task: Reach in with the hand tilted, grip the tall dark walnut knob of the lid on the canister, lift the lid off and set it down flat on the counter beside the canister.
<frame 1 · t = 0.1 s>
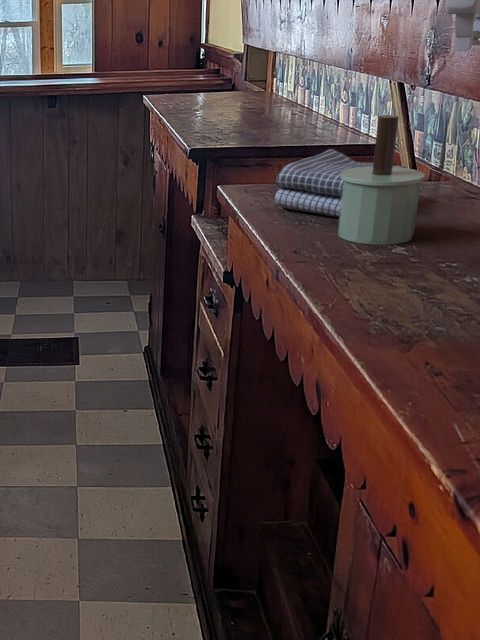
hand: (470, 47, 115), 26 cm above the worktop, tool pointing down, fingers open, 8 cm apart
lid: (381, 177, 124), point 8 cm above the worktop, touching canister
towel: (339, 207, 145), on the worktop
canister: (374, 235, 127), on the worktop
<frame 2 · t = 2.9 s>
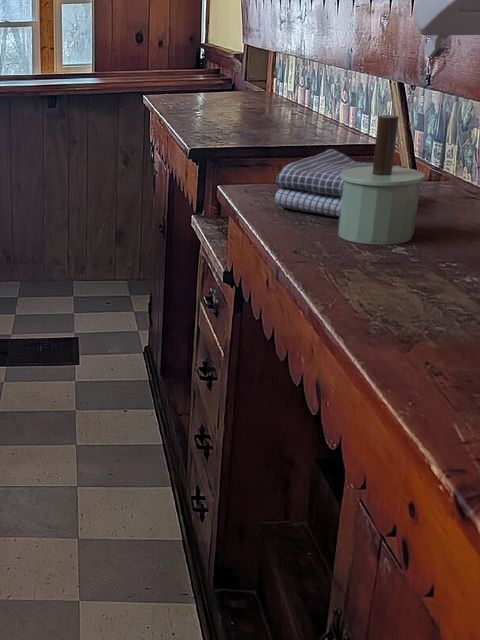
hand: (464, 52, 109), 26 cm above the worktop, tool tilted 45°, fingers open, 8 cm apart
nothing on the worktop moved.
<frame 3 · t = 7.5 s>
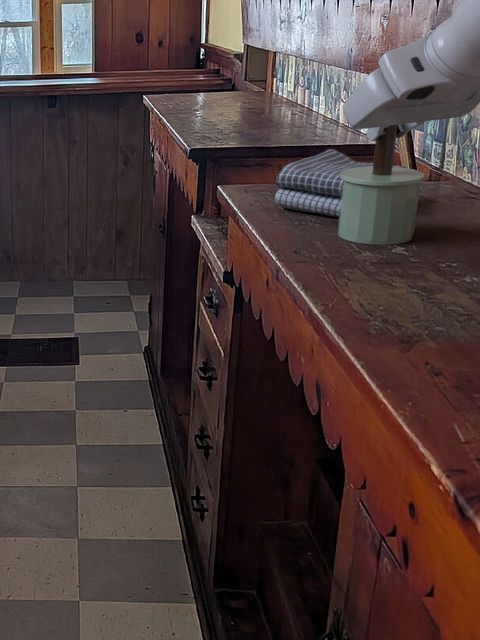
hand: (383, 135, 122), 14 cm above the worktop, tool tilted 45°, fingers closed on lid, 2 cm apart
lid: (381, 177, 124), point 9 cm above the worktop, touching canister, gripper
everything else where it was.
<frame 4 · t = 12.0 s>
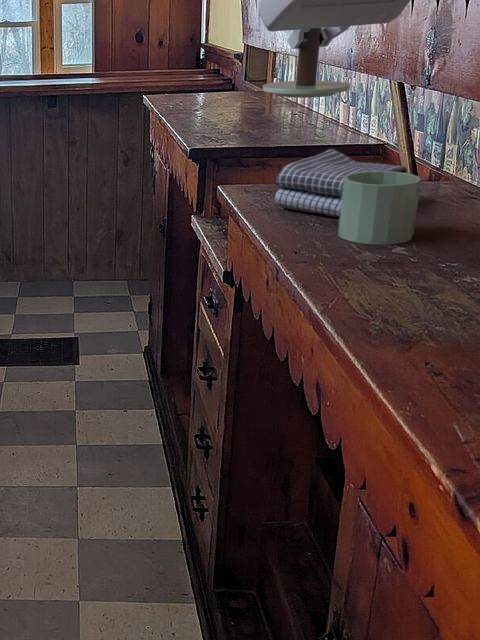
hand: (306, 44, 115), 27 cm above the worktop, tool tilted 45°, fingers closed on lid, 2 cm apart
lid: (305, 89, 117), point 22 cm above the worktop, touching gripper
everything else where it was.
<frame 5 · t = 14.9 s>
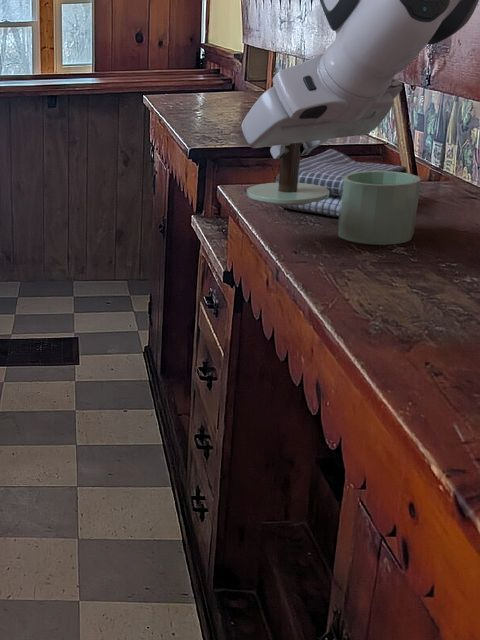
hand: (287, 153, 121), 13 cm above the worktop, tool tilted 45°, fingers closed on lid, 2 cm apart
lid: (287, 194, 122), point 7 cm above the worktop, touching gripper
everything else where it was.
when the fingers open (6 cm above the worktop, at t = 16.7 s): lid stays where it is, point 1 cm above the worktop.
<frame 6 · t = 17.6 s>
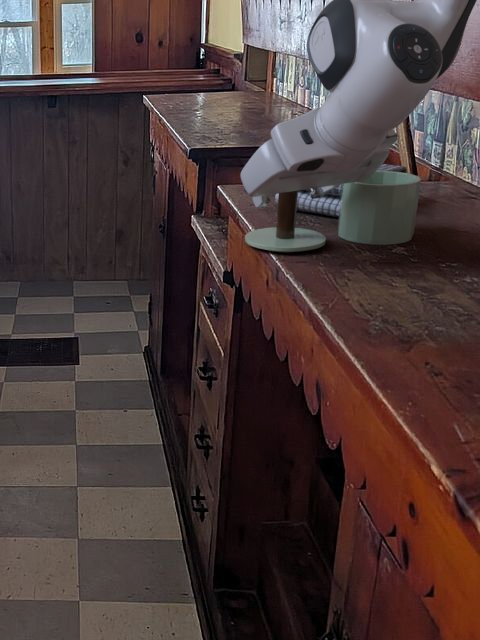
hand: (286, 198, 123), 7 cm above the worktop, tool tilted 45°, fingers open, 8 cm apart
lid: (284, 240, 125), point 1 cm above the worktop
everything else where it was.
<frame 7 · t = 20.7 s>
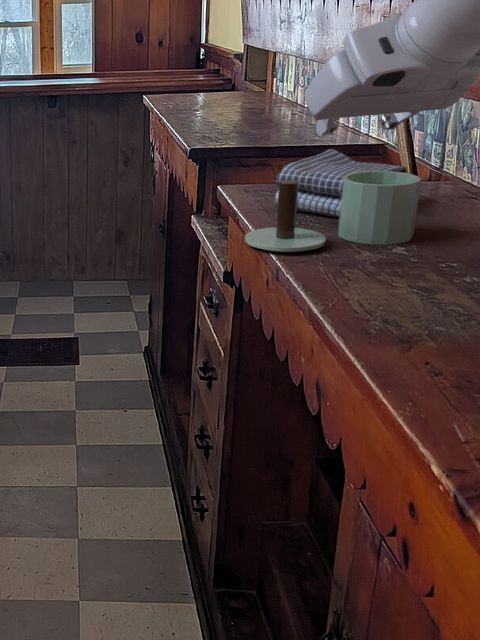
hand: (354, 128, 108), 18 cm above the worktop, tool tilted 45°, fingers open, 8 cm apart
nothing on the worktop moved.
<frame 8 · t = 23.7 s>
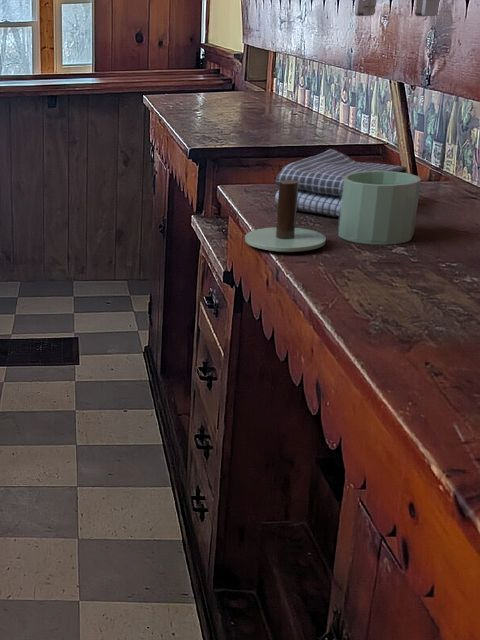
hand: (393, 16, 98), 31 cm above the worktop, tool pointing down, fingers open, 8 cm apart
nothing on the worktop moved.
at the end: lid inside the target area (0.1 cm from its centre), point 0.6 cm above the worktop; lid tilted 0°; the gripper is holding nothing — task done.
